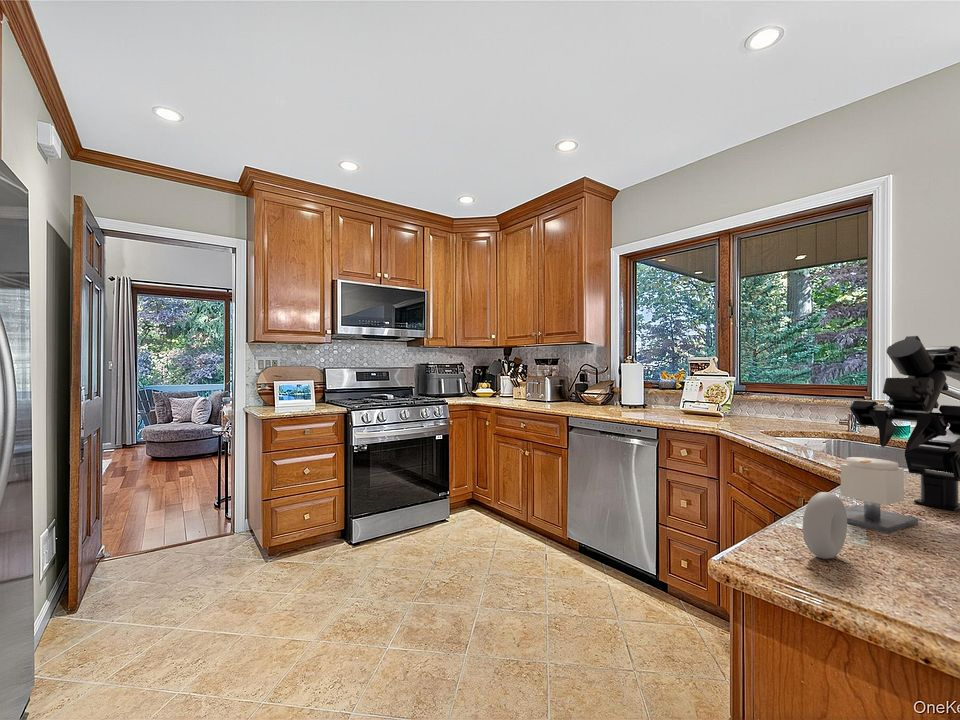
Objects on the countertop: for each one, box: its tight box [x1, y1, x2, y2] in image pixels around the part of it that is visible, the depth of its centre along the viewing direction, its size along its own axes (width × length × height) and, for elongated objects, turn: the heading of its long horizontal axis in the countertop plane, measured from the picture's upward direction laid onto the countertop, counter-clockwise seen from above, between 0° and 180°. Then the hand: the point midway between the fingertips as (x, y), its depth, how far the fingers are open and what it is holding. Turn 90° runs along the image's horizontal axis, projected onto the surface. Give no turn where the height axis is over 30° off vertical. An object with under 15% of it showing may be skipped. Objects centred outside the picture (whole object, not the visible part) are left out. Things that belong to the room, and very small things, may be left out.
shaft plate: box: [845, 500, 919, 534], centre depth 87 cm, size 12×10×7 cm
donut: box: [802, 491, 848, 560], centre depth 70 cm, size 10×3×10 cm, turn 124°
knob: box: [840, 456, 905, 506], centre depth 87 cm, size 8×8×7 cm
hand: (894, 447), depth 91 cm, fingers open, 4 cm apart
